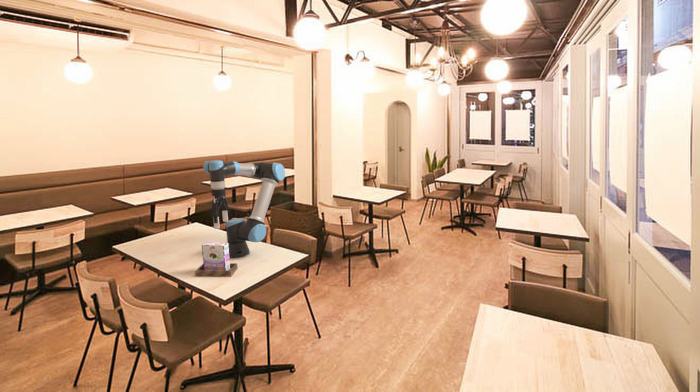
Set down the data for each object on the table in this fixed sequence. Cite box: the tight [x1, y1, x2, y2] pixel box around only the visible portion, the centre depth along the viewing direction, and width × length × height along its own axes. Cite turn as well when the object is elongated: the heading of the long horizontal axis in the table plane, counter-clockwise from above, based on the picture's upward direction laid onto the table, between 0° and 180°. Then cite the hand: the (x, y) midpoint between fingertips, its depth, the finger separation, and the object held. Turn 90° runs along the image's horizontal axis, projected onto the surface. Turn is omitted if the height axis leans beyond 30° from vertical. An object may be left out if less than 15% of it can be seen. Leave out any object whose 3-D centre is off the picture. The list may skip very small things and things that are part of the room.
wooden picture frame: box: [194, 262, 238, 278], centre depth 227 cm, size 20×12×3 cm, turn 88°
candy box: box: [201, 241, 231, 270], centre depth 226 cm, size 14×6×16 cm, turn 78°
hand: (221, 224), depth 225 cm, fingers open, 13 cm apart
